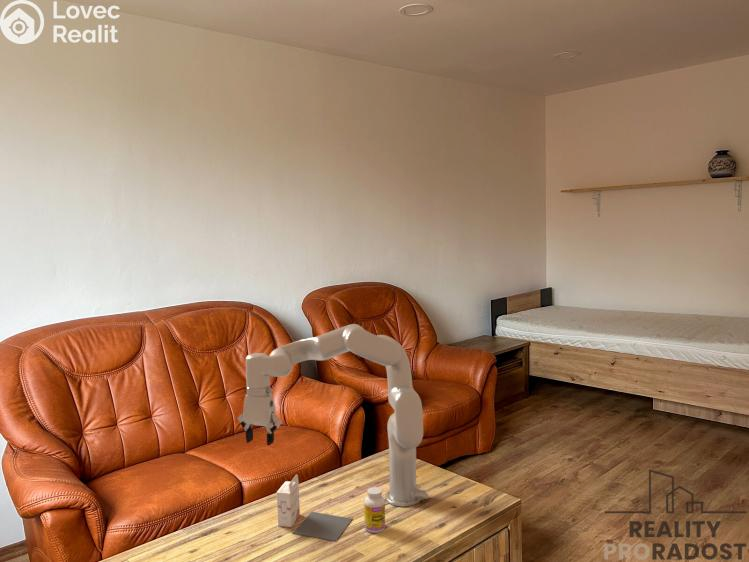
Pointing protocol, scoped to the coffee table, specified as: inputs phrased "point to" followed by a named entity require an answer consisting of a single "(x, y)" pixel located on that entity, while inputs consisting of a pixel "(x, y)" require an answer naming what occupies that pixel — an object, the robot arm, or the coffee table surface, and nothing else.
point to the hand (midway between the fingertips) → (260, 442)
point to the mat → (323, 526)
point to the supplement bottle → (374, 510)
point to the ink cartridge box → (288, 503)
